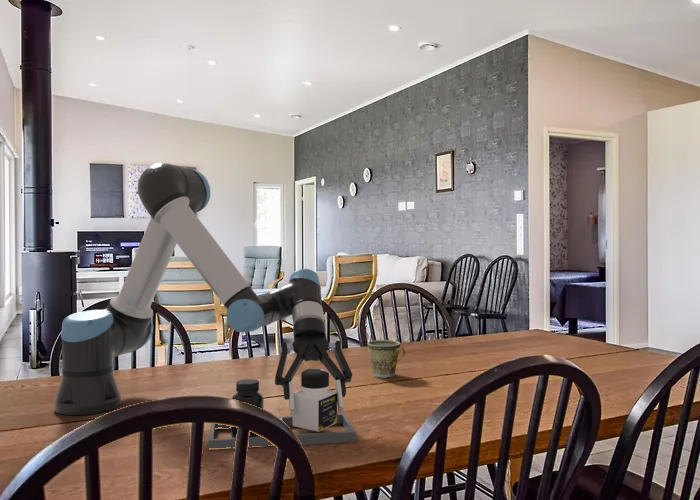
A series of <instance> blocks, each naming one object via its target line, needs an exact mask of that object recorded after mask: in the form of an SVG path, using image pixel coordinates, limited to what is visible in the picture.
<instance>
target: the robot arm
mask: <svg viewBox="0 0 700 500" xmlns="http://www.w3.org/2000/svg"><path fill="white" fill-rule="evenodd" d="M137 192H138V197H139V200H140V201H141V204H142V206H143V207H144V209H145V211H147V213H148V214H149V216H150V219H149V222H148V224H147V227H146V229H145V231H144V234H143V236H142V239H141V241H140V244H139V246H138V249H137V250H136V253H135V255H134V258H133V261H132V263H131V265H130V268H129V270H128V273H127V275H126V278H125V279H124V281H123V285H122V287H121V289H120V292H119V294H118V295H117V296H115V297H112V298H111V299H110V300H109V302H108V305H107V308H106V309H89V310H85V311H79V312H74V313H72V314H69V315H68V316H66V317H65V318H64V319H63V321H62V323H61V332H60V339H61V369H62V371H61V372H62V374H61V375H62V376H61V381H60V384H59V387H58V390H57V393H56V397H55V400H54V411H55V413H57V414H60V415H65V416H66V415H67V416H85V415H86V416H88V415H94V414H99V413H105V412H108V411H111V410H114V409H116V408H117V407H119V406H121V403H122V395H121V391H120V388H119V386H118V384H117V380H116V378H115V377H116V376H115V375H114V358H116V357H119V356H122V355H125V354H129V353H130V354H131V353H133V352H136V351H138V350H139V349H141V348H143V347H144V346H146V345H147V344H148V342H149V341H150V340H151V338H152V337H153V336H152V335H153V333H154V324H153V315H154V311H153V310H152V307H151V306H152V303H153V302H154V299H155V296H156V293H157V292H158V289H159V287H160V285H161V283H162V279H163V277H164V274H165V272H166V271H167V267H168V265H169V263H170V261H171V258H172V255H173V254H174V251H175V248H176V246H178V247H179V248H180V250H181V251H182V252H183V253H184V256H186V258H187V259H188V260H189V261H190V263H191V264H192V266H193V267H194V268H195V269H196V271H197V272H198V273H199V274H200V276H201V277H202V278H203V280H204V281H205V283H206V285H208V287H209V288H210V289H211V291H212V292H213V293H214V295H215V296H216V297H217V298H218V301H220V302H221V303H222V305H223V306H224V308H225V310H226V320H227V323H228V325H229V327H230V328H231V329H232V330H234V331H236V332H238V333H249V332H253V331H256V330H259V329H260V328H262V327H266V326H269V325H271V324H272V323H275V322H278V321H280V320H283V319H285V318H287V317H289V316H292V318H291V319H292V326H293V328H292V333H293V334H292V335H293V342H292V343H287V342H286V341H283V342H281V345H280V357H279V362H278V366H277V369H276V372H275V376H274V384H275V386H282V389H283V399H284V400H285V401H286V400H288V403H289V416H293V415H294V395H293V394H294V384H293V383H294V382H293V381H292V380H293V379H294V377H295V375H296V373H297V371H298V370H299V368H300V366H301V365H302V364H303V362H310V361H315V362H318V361H319V362H320V363H321V365H323V366H324V368H325V369H326V371H328V373H329V375H331V376H332V378H333V379H334V380H335V391H336V392H337V414H342V413H343V410H344V400H343V398H345V397H346V393H347V387H346V383H351V382H352V378H353V373H352V369H351V367H350V366H349V364H348V361H347V359H346V357H345V355H344V353H343V351H342V349H341V348H342V347H341V346H342V345H341V344H342V343H341V341H340V340H336V341H335V342H329V341H328V339H327V334H326V327H325V326H326V325H325V317H324V309H323V303H322V301H323V300H322V287H321V285H320V284H321V283H320V277H319V275H318V273H316V272H315V270H312V269H309V268H299V269H297V270H295V271H293V272H292V274H291V275H290V276H289V281H288V283H287V284H284V285H283V286H281V287H279V288H275V289H273V290H270V291H268V292H266V293H260V294H258V295H257V294H256V292H255V291H254V289H253V288H252V287H251V286H250V284H249V283H248V281H247V280H246V279H245V277H244V276H243V275H242V274H241V272H240V271H239V270H238V268H237V267H236V265H234V263H233V262H232V261H231V259H230V258H229V257H228V255H227V254H226V253H225V251H224V250H223V249H222V248H221V246H220V245H219V244H218V242H217V241H216V240H215V238H214V237H213V236H212V235H211V234H212V233H210V232H209V230H208V229H207V228H206V226H205V225H204V224H203V223H202V221H201V220H200V219H199V217H198V216H197V215H196V214H197V213H199V212H201V211H202V210H204V209H205V208H206V207H207V205H208V204H209V201H210V199H211V187H210V184H209V181H208V179H207V178H206V176H205V175H204V174H203V173H202V172H200V171H199V170H196V169H193V168H191V167H189V166H181V165H174V164H171V163H168V162H160V163H155V164H152V165H150V166H148V167H146V168H145V170H144V171H143V172H142V173H141V175H140V176H139V179H138V182H137ZM328 349H329V350H331V352H332V354H334V358H335V360H336V362H337V364H338V366H337V365H336V363H335V362H334V361H333V359H332V358H331V357H330V355H329V353H328V352H327V351H328ZM291 351H294V353H295V354H296V356H295V357H294V358H295V359H294V360H293V361H292V364H291V365H290V367H289V369H288V370H287V372H286V374H285V376H283V374H284V372H285V371H284V370H285V367H286V362H287V357H288V355H289V354H290V353H291ZM338 367H339V368H338Z"/></svg>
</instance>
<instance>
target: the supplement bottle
mask: <svg viewBox="0 0 700 500" xmlns="http://www.w3.org/2000/svg"><path fill="white" fill-rule="evenodd" d="M235 386H236V387H235V391H236V392H235V393H234V394H233V396H232V397H231V399H236V400H239V401H242V402H246V403H249V404H252V405H255V406H257V407H260V408H262V409H264V396H263V395H262V393H260V392H259V391H260V382H259V380H258V379H252V378H247V379H246V378H243V379H239V380H237V381H236V384H235ZM237 429H238V428H236V427H231V429H230V438H236V434H237ZM249 437H258V435H256V434H254V433H252V432H250V436H249Z"/></svg>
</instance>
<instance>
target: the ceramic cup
mask: <svg viewBox="0 0 700 500" xmlns="http://www.w3.org/2000/svg"><path fill="white" fill-rule="evenodd" d="M367 350H368V354H369V358H370V363H371V370H372V375H373V377H374V376H375V377H376V378H379V377H380V378H379V379H388V378H387V377H391V378H393V377H392V376H394V377H395V374H396V369H397V364H398V362H400V361H401V360H402V359H403V358H404V357H405V355H406V351H405V349H404V348H403V347H401V342H399V341H397V340H390V339H376V340H370V341H368V342H367ZM400 351H402V354H403V355H402V356H401V357H399V353H400ZM375 377H374V378H375Z"/></svg>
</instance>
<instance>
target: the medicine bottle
mask: <svg viewBox="0 0 700 500" xmlns="http://www.w3.org/2000/svg"><path fill="white" fill-rule="evenodd" d="M300 378H301V379H300V380H301V381H300V382H301V383H300V384H301V385H300V389H301V390H299V391H297V392H293V395H294V415H292V416H293V426H292V427H296V428H300V429H305V430H309V431H313V432H316V433H321V432H322V431H324V430H326V429H328V428H329V427H331V426H334V425H335V424H336V423H337V414H338V404H337V392H336V390H331V389H330V372H329V371H328V370H327V369H323V368H307V369H305V370H303V371H302V372H301V375H300ZM337 424H338V423H337Z"/></svg>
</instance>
